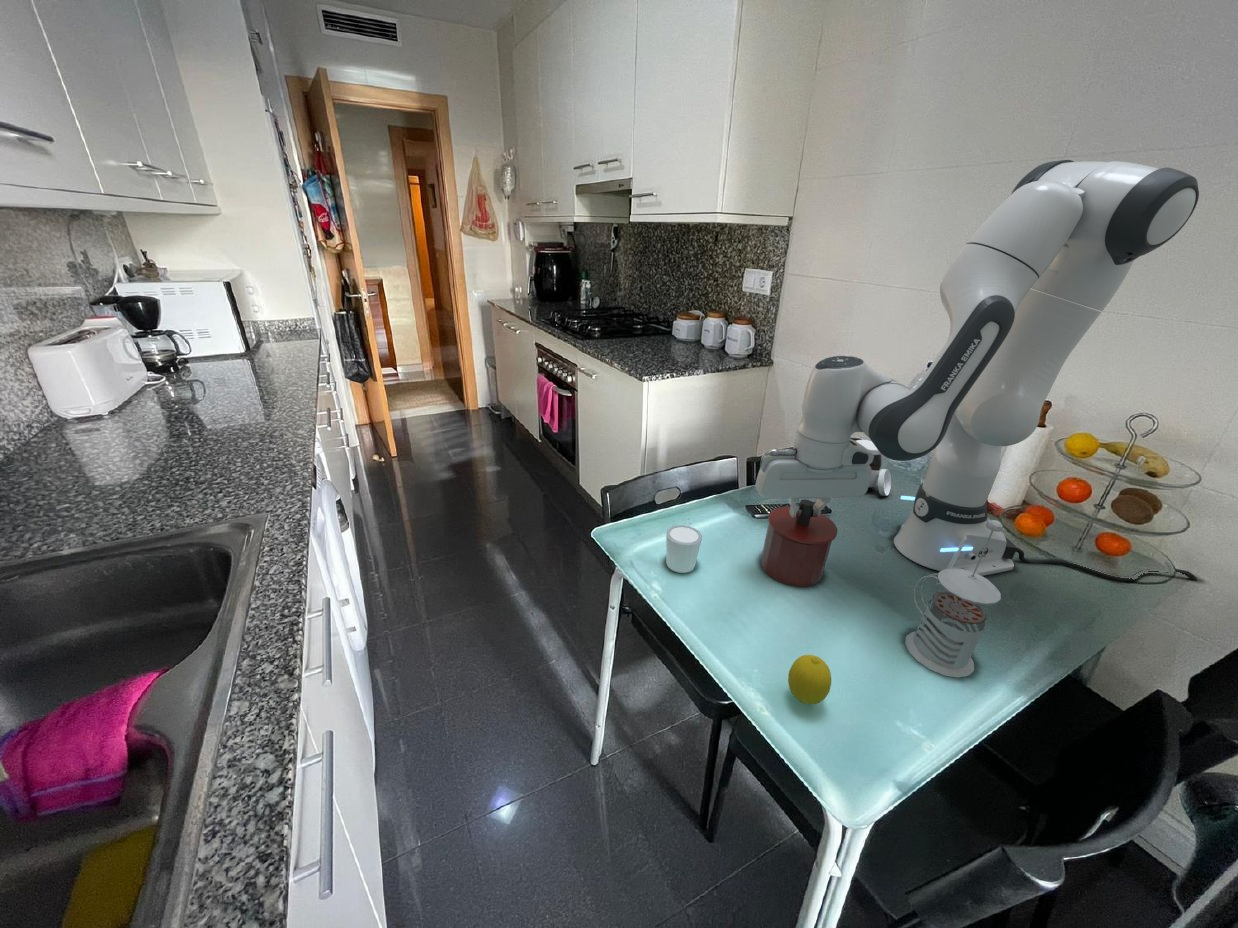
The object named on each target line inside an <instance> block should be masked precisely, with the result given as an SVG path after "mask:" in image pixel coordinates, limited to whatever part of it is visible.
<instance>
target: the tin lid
mask: <svg viewBox="0 0 1238 928" xmlns="http://www.w3.org/2000/svg"><path fill="white" fill-rule="evenodd" d="M814 504H815V503H814V502H813V501H812V500H810V499H806V498H803V499H801V500H799V505H798V506H799V508H801V510H802V512H801V514H800V515H801V517H796V518H795V517H794V518H792V517H791V515H790V513H789V511H790V507H791V506H790V505H788V506H780V507H776V508H774V509H773V510H771V511H770V512H769V514H768V517H767V523H769V525H770V527H771V528H772V529H773V530H774V531H775V532H776V533H778V534H779V535H781V536H783V537H785V538H787V539H789V540H792V541H795V542H799V543H804V544H812V545H818V544H825V543H829V542H831V541H832V542H833V541H834V540H835V539H836V538H837V535H838V532H839V531H838V527H837V525H836V523H835V522H834V521H833V520H832V519H830V518H829V517H828V516H826V515H825V514H823V513H822V512H821V513H820V516H819V517H811V514H812V510H813V506H814Z"/></svg>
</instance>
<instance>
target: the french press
mask: <svg viewBox="0 0 1238 928" xmlns="http://www.w3.org/2000/svg"><path fill="white" fill-rule="evenodd" d="M986 527H987V528H988V529H990V530H992V531H991V533H990V536H989V538H988V540H987V543H986V545H985V547H984V549H983V552H982V554H981V556H980V559H979V561H978V563H977V565H976V568H975V570H974V572H971V571H967V570H964V569H957V568H950V569H943V570H942V571H938V573H937V572H936V573H930V574H929V575H925V576H922V577H920V578H919V579H918V580H917V581H916V582H915V585H914V588H913V602H914V604H915V606H916V608H917V609H918V611H919V612H920V614H921V617H920V621H919V623H918V625H917V628H916V631H911V632H910V633H909V634H907V635H906V636H905V643H904V644H905V647H906V648H907V650H908V651H907V652H909V654H910V655H911V656H913V658H914V659H915V660H916V662H918V663H920V664H921V665H923V666H924V667H926V668H927V669H928V670H930V671H933V672H935V673H937V674H940V675H942V676H947V677H951V678H959V679H960V678H964V677H969V676H970V675H971V674H972V673H973V672H974V671H975V662H974V660H973V659H972V655H973V653H974V651H975V649H976V646H977V645H978V643H979V641H980V638H981V636H982V634H983V632H984V630H985V627H986V620H987V619H988V618H987V612H986V611H985V609H984V608H983V606H991V605H995V604H997V603H998V602H999V601H1001V600H1002V597H1001V596H1002V594H1001V592H1000V591H999V589H998V588H997V587H996V586H995V585H994V584H993V583H992V581H990V580H989V578H986V577H984V576H980V575H978V574H977V573H975V572H976V570H977V568H978V565H979V563H980V561H981V558H982V556H983V554H984V552H985V549H986V547H987V545H988V542H989V540H990V538H991V536H992V533H993V531H996V532H1002V530H1003V527H1004V525H1003V524H1002V522H1001V521H999V520H996V519H990V521H988V522H987V524H986ZM929 578H933V579H935V586H940V585H941V586H942V588H944V589H945V590H941V591H936V593H934V594H932V599H930V600H928V602H927V604H926V603H925V600H924V597H923V587H924V584H925V582H926V581H927V579H929ZM921 581H922V583H921V585H920V599H921V602H922V604H923V606H924V608H925V609H924V612H923V611H922V610H921V608H920V607H919V604H918V602H917V600H916V590H917V587H918V584H919V583H920V582H921ZM931 602H932V604H931ZM930 605H931V607H930ZM929 607H930V608H929ZM942 619H943V620H942ZM944 619H945V620H944ZM946 619H947V620H946ZM948 620H951V621H948ZM952 621H955V622H958V623H959V624H961V625H962V626H963V627H964V628H965V630H964V628H962V627H961V626H960V625H958V624H957V623H955V622H952ZM923 623H924V624H923ZM968 624H969V626H970V627H971V629H970V628H969V626H968ZM975 625H976V627H977V629H976V627H975ZM971 630H972V631H971ZM977 630H978V631H977Z"/></svg>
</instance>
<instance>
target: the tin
mask: <svg viewBox="0 0 1238 928" xmlns="http://www.w3.org/2000/svg"><path fill="white" fill-rule="evenodd" d="M767 523H768V522H767ZM832 542H833V541H831V542H829V543H825V544H818V545H812V544H804V543H799V542H795V541H792V540H789V539H787V538H785V537H783V536H781V535H779V534H778V533H776V532H775V531H774V530H773V529H772V528H771V527H770V525H769V523H768V524H767V529H766V533H765V537H764V543H763V548H762V553H761V558H760V564H761V567H762V570H763V571H764V572H765V573H766V574H767V575H768V576H770V577H771V578H772V579H774V580H776V581H778V582H779V583H782V584H785V585H788V586H793V587H810V586H811V587H812V586H813V585H816V584H817V583H819V582H820V581H821V579H822V577H823V575H824V571H825V568H826V564H827V560H828V556H829V554H830V549H831V545H832Z"/></svg>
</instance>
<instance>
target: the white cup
mask: <svg viewBox="0 0 1238 928" xmlns="http://www.w3.org/2000/svg"><path fill="white" fill-rule="evenodd" d="M665 536H666V537H665V539H666V540H665V544H666V545H665V548H666V549H665V551H666V553H665V554H666V555H665V557H666V558H665V559H666V561H665V564H666V566H667V568H669V569H670V570H671V571H673V572H676V573H678V574H679V573H681V574H686V573H690V572H692V571H693V570H694V569H695V567H696V563H697V559H698V556H699V551H700V548H701V545H702V544H701V543H702V540H703V534H702V533H701V532H700V531H699V530H698V529H697V528H695V527H692V526H690V525H684V524H680V525H673V526H671V527H669V528H668V529H667V530H666V535H665Z"/></svg>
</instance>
